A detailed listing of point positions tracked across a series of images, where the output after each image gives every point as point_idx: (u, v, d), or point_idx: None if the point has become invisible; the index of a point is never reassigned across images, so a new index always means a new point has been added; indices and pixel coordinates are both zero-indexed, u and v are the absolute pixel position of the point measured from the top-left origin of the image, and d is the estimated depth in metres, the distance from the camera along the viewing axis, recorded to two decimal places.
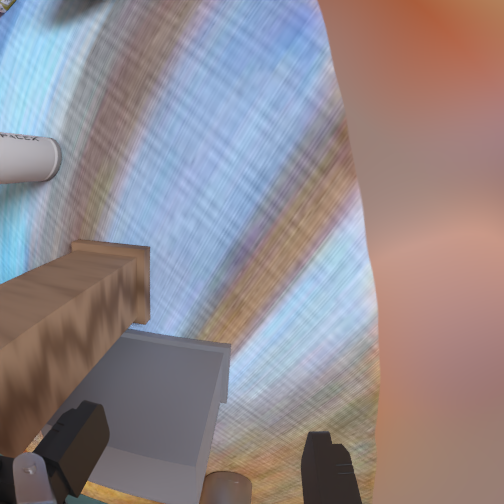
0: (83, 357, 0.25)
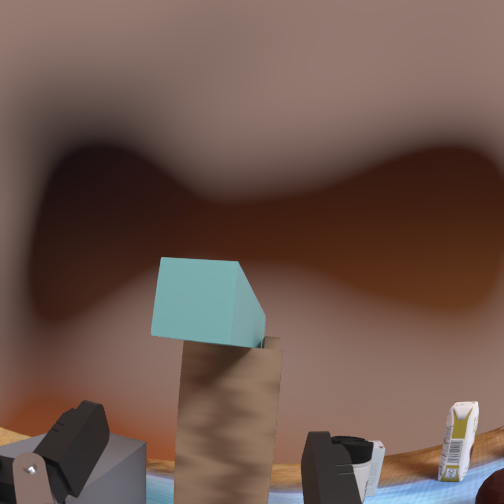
0: None
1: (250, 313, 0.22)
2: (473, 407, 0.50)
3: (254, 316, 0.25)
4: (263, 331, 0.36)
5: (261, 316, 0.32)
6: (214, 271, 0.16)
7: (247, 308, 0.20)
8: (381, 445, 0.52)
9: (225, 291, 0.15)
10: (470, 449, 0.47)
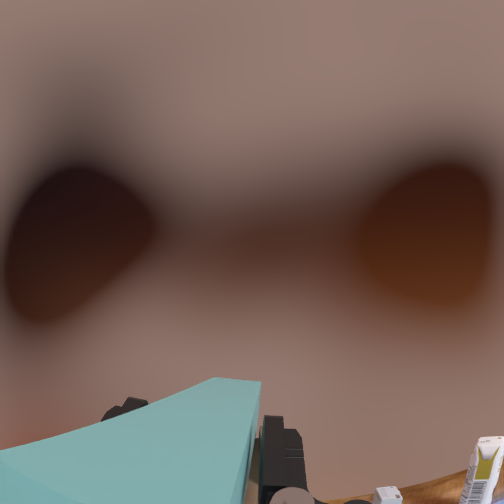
0: None
1: (246, 467, 0.09)
2: (500, 445, 0.37)
3: (251, 441, 0.12)
4: None
5: None
6: None
7: (242, 485, 0.07)
8: (398, 493, 0.39)
9: None
10: (493, 489, 0.34)
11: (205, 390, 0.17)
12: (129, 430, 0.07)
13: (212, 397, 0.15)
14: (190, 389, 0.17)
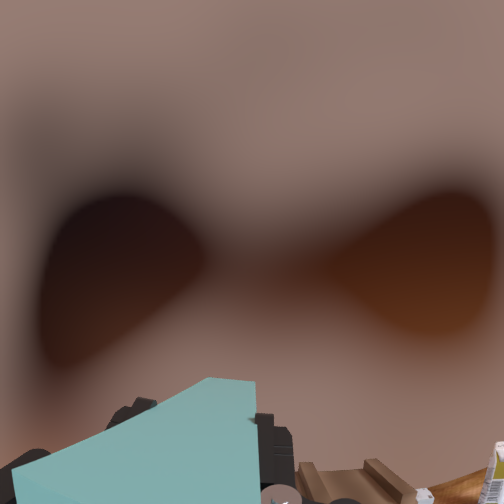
0: None
1: None
2: None
3: None
4: None
5: None
6: None
7: None
8: (430, 494, 0.42)
9: None
10: None
11: (203, 391, 0.17)
12: (142, 435, 0.07)
13: (212, 398, 0.15)
14: (188, 390, 0.17)
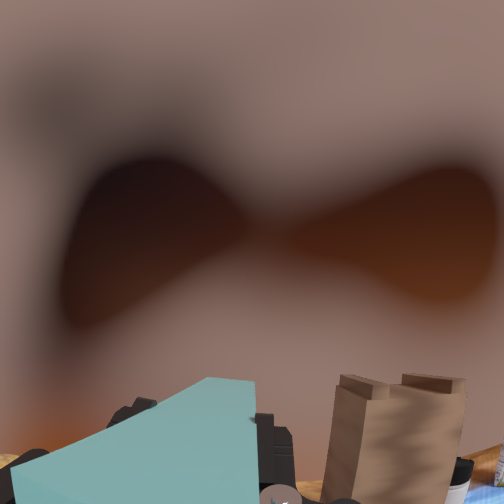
0: None
1: None
2: None
3: None
4: None
5: None
6: None
7: None
8: None
9: None
10: None
11: (203, 390, 0.17)
12: (141, 434, 0.07)
13: (211, 398, 0.15)
14: (188, 389, 0.17)
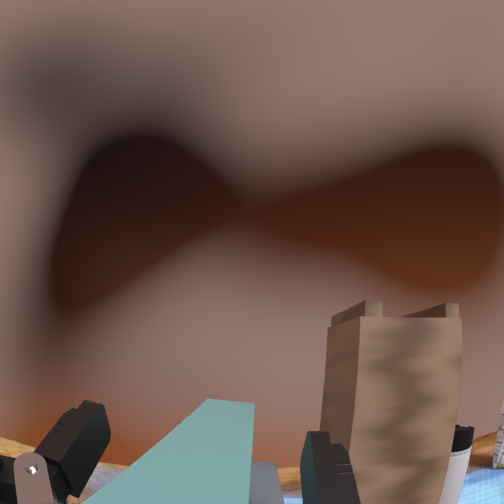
0: None
1: None
2: None
3: None
4: None
5: None
6: None
7: None
8: None
9: None
10: None
11: (201, 421, 0.17)
12: (135, 493, 0.06)
13: (209, 433, 0.14)
14: (186, 421, 0.16)
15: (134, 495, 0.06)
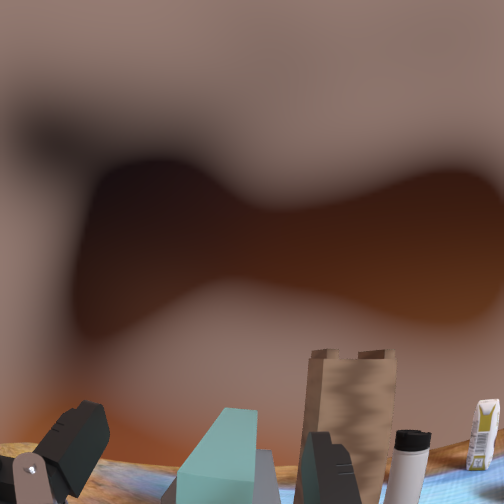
0: None
1: None
2: (496, 403, 0.54)
3: None
4: None
5: None
6: (231, 488, 0.13)
7: None
8: None
9: (242, 503, 0.13)
10: (494, 440, 0.50)
11: (225, 422, 0.27)
12: (207, 452, 0.17)
13: (231, 428, 0.25)
14: (216, 422, 0.27)
15: (207, 453, 0.17)
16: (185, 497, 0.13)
